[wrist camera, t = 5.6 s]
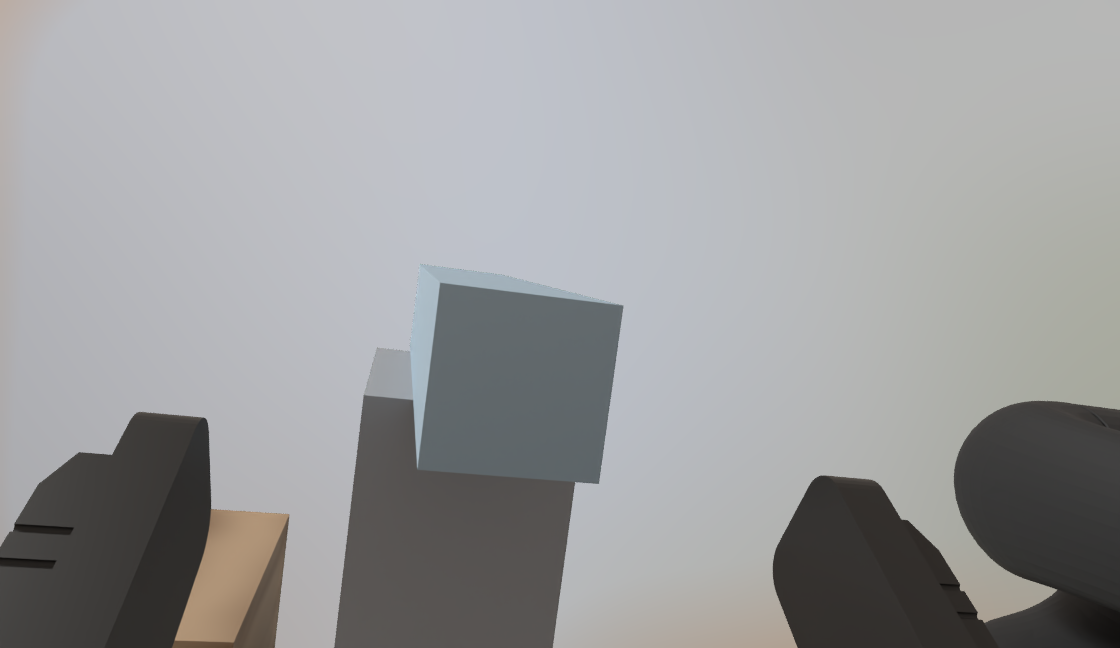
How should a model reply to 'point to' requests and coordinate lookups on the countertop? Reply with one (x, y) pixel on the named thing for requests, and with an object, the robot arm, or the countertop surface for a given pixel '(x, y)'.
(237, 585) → the block
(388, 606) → the block
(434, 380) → the beam
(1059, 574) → the robot arm
